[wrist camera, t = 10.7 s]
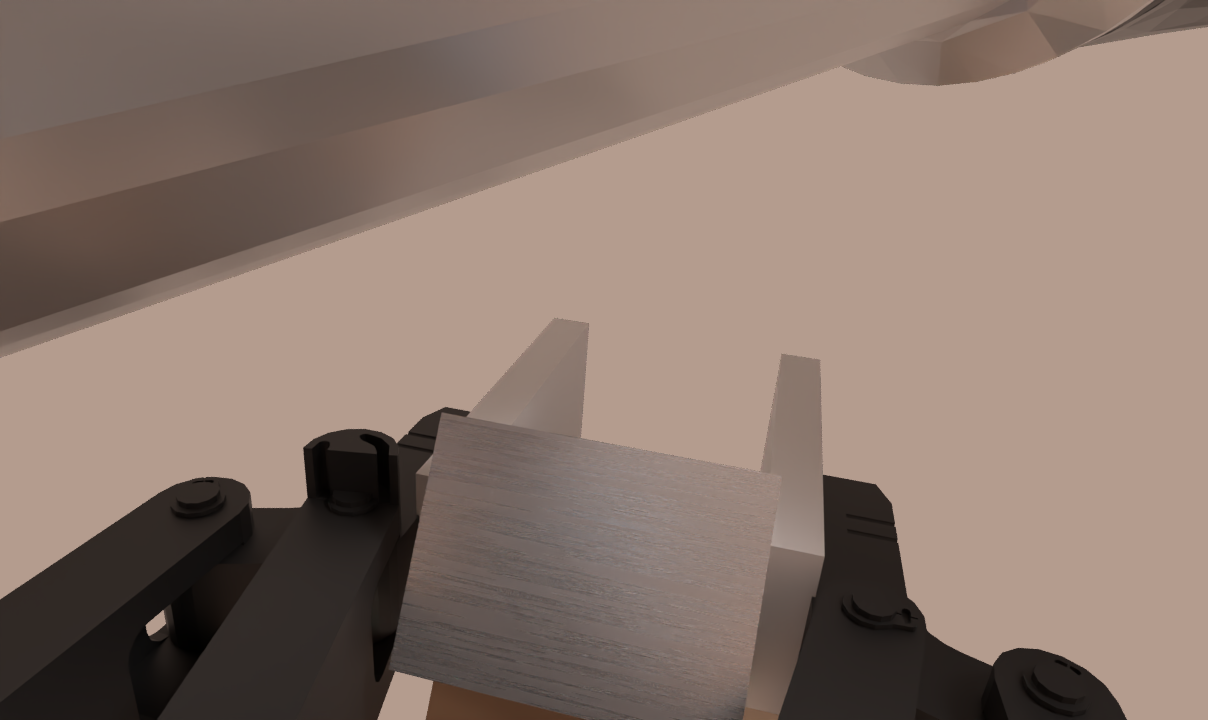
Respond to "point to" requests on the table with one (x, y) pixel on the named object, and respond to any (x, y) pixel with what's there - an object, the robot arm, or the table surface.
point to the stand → (507, 707)
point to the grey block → (586, 575)
